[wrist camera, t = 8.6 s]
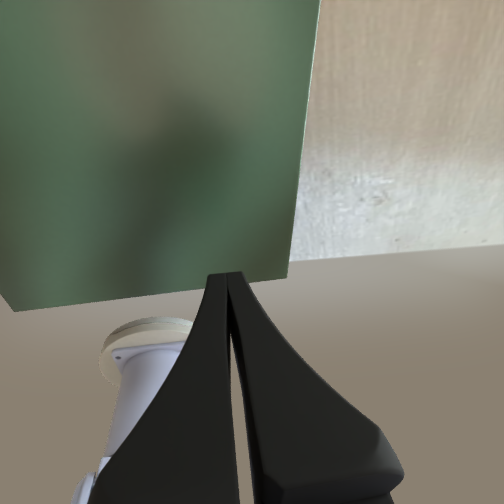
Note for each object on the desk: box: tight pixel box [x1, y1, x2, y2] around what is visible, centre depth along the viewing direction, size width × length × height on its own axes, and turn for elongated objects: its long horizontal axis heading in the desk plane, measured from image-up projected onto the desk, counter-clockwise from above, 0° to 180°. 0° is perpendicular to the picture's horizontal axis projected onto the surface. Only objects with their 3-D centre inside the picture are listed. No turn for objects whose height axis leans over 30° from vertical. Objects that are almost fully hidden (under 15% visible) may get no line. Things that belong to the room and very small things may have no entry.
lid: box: [0, 0, 321, 312], centre depth 12 cm, size 14×13×1 cm
